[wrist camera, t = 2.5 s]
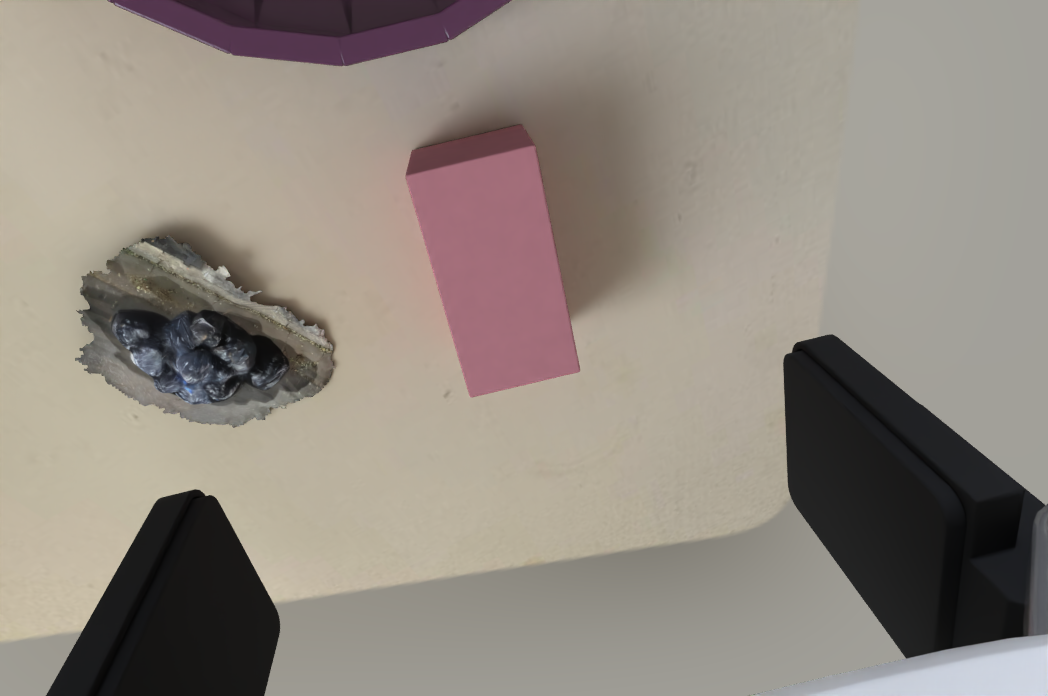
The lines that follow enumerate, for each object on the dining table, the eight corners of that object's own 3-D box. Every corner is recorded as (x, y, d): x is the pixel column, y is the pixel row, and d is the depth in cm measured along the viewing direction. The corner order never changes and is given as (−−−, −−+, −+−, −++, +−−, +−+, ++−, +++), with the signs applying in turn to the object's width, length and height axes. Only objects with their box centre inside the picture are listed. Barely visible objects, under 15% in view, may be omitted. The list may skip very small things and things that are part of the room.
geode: (92, 209, 21) (61, 226, 19) (356, 275, 22) (349, 297, 21) (82, 395, 23) (54, 425, 22) (318, 441, 25) (310, 472, 23)
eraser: (411, 150, 21) (404, 175, 18) (522, 123, 21) (535, 144, 18) (467, 348, 24) (470, 398, 21) (563, 324, 24) (580, 372, 21)
